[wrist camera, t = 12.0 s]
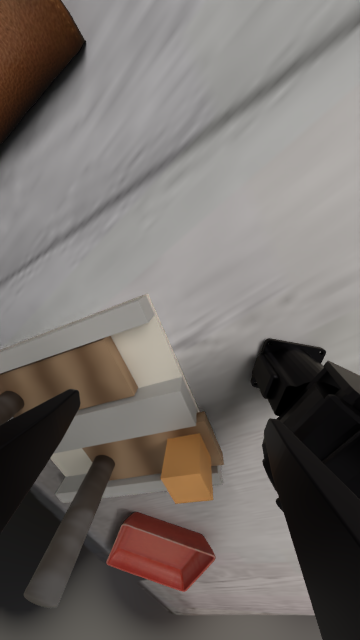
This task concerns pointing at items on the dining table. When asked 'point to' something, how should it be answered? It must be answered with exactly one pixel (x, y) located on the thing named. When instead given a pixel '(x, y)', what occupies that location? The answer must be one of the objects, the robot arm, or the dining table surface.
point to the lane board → (125, 414)
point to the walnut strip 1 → (68, 379)
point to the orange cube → (187, 469)
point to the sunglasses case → (32, 54)
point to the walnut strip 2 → (107, 465)
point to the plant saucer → (160, 552)
